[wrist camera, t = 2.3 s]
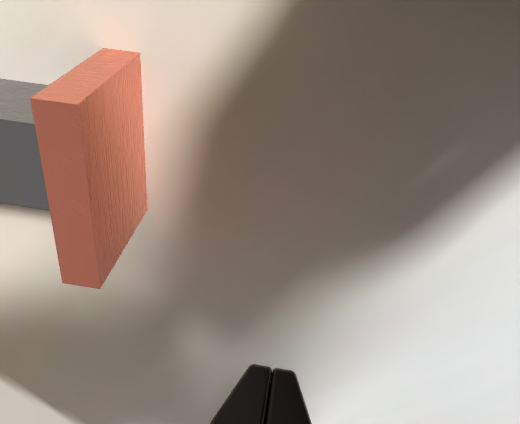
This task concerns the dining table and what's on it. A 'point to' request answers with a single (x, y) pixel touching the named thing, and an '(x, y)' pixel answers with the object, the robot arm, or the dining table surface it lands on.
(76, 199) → the pin
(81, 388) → the dining table surface
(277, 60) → the dining table surface
